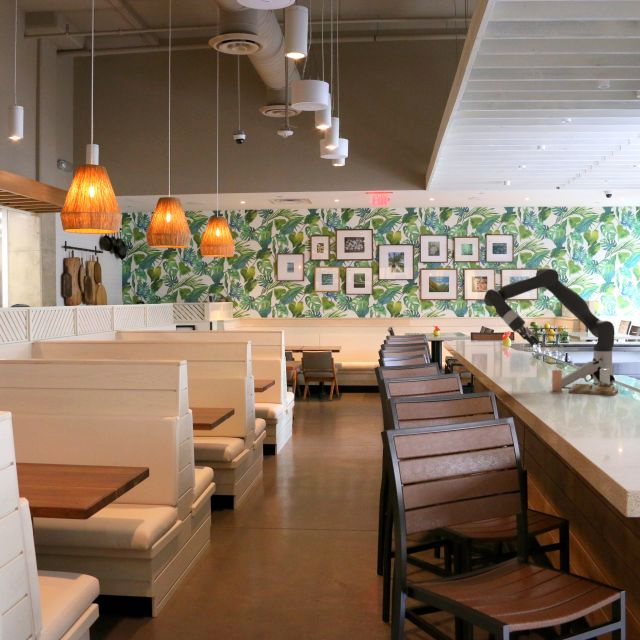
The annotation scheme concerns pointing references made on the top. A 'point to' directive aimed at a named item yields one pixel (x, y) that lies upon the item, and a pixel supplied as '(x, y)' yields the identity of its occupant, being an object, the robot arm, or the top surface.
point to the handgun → (587, 372)
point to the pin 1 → (556, 380)
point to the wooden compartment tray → (593, 389)
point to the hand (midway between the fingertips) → (536, 343)
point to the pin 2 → (604, 377)
